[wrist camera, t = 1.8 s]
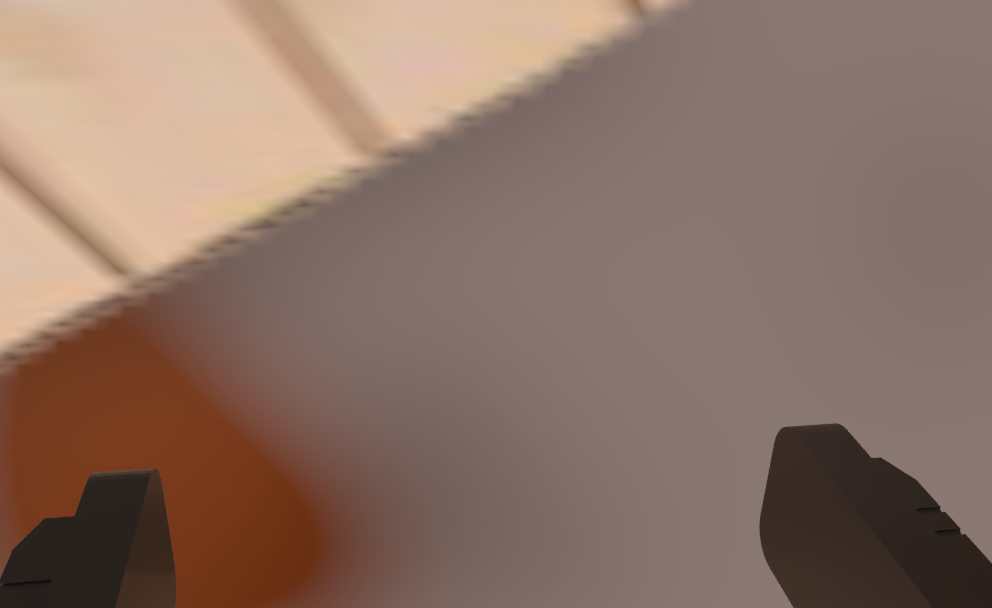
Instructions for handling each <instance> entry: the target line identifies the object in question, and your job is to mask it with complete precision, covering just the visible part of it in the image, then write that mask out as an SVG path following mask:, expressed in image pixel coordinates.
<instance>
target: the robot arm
mask: <svg viewBox="0 0 992 608" xmlns="http://www.w3.org/2000/svg"><path fill="white" fill-rule="evenodd" d="M760 539H761V545H762V549H763V553H764V556H765V559H766V561H767V564H768V565H769V567H770V569H771V570H772V572H773V574H774V576H775V577H776V579H777V581H778V582H779V584H780V586H781V587H782V589H783V591H784V592H785V594H786V596H787V597H788V599H789V601H790V602H791V604H792V606H793V607H794V608H992V563H991V562H990V561H989V560H988V559H987V558H986V557H985V555H984V554H983V553H982V552H981V551H980V550H979V549H978V548H977V547H976V545H975V544H974V543H973V542H972V541H971V540H970V539H969V538H968V537H967V536H966V534H964V535H961V533H960V528H959V527H958V526H957V525H956V523H955V522H954V521H953V520H952V519H951V518H950V517H949V516H948V515H947V513H946V512H941V510H940V506H939V505H938V504H937V502H936V501H935V500H934V499H933V498H932V497H931V496H930V495H929V494H928V493H927V491H926V490H925V489H924V488H923V487H922V486H921V485H920V484H919V483H918V481H917V480H915V479H914V478H912V477H911V476H909V475H908V474H906V473H904V472H903V471H901V470H899V469H898V468H896V467H895V466H893V465H892V464H890V463H889V462H887V461H885V460H884V459H882V458H871V457H870V456H869V455H868V454H867V452H866V451H865V450H864V449H863V448H862V447H861V446H860V444H859V443H858V442H857V441H856V440H855V439H854V437H853V436H852V435H851V434H850V433H849V432H848V430H847V429H846V428H845V427H843V426H842V425H840V424H837V423H836V424H821V425H807V426H793V427H784V428H782V429H781V430H780V431H779V432H778V434H777V436H776V439H775V443H774V448H773V453H772V458H771V463H770V469H769V474H768V479H767V484H766V490H765V495H764V500H763V505H762V511H761V516H760ZM175 605H176V574H175V564H174V558H173V551H172V545H171V538H170V532H169V526H168V519H167V512H166V506H165V500H164V493H163V488H162V482H161V477H160V474H159V472H158V470H157V469H156V468H155V469H141V470H127V471H112V472H98V473H92V474H91V475H90V477H89V479H88V481H87V484H86V486H85V490H84V492H83V495H82V497H81V500H80V503H79V506H78V508H77V511H76V514H75V516H72V517H59V518H46V519H44V520H43V521H42V522H41V523H40V524H39V525H38V526H36V528H34V529H33V530H32V531H31V532H30V533H29V534H28V535H27V536H26V537H25V538H24V539H23V540H22V541H21V542H20V543H19V544H18V545H17V546H16V547H15V548H14V549H13V551H12V553H11V556H10V558H9V560H8V562H7V565H6V567H5V569H4V572H3V574H2V576H1V578H0V608H175Z"/></svg>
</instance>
